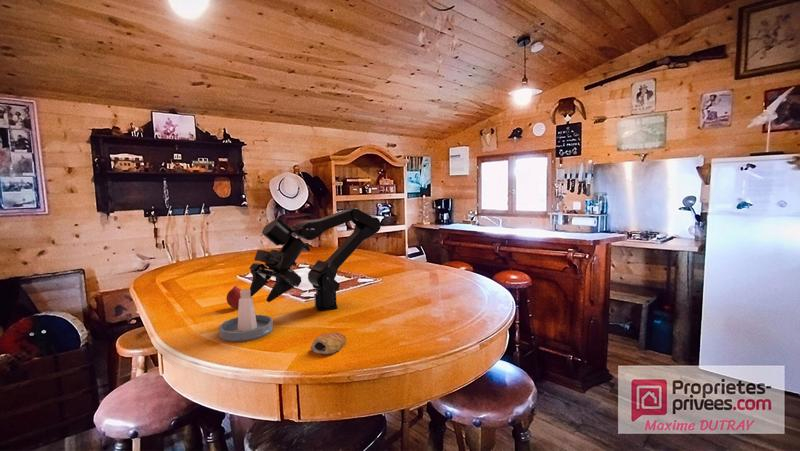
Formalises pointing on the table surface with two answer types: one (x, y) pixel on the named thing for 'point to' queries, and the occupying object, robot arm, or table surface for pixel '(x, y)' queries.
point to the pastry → (328, 343)
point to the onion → (234, 297)
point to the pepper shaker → (246, 312)
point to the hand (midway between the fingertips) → (258, 298)
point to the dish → (231, 333)
